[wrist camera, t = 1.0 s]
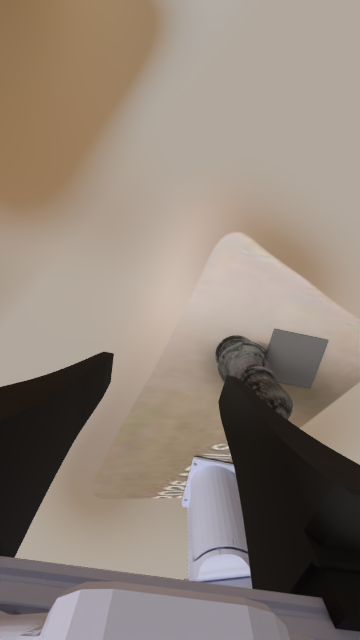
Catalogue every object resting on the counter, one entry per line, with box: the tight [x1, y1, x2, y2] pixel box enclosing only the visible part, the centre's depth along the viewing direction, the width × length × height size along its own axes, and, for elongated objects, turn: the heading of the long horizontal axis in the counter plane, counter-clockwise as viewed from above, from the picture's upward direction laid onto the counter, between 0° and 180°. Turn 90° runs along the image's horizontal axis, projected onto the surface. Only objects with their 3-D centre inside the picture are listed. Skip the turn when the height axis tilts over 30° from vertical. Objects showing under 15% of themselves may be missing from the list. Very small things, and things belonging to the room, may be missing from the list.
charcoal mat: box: [267, 329, 328, 388], centre depth 23 cm, size 7×7×1 cm
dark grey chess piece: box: [216, 336, 293, 420], centre depth 17 cm, size 6×6×12 cm
